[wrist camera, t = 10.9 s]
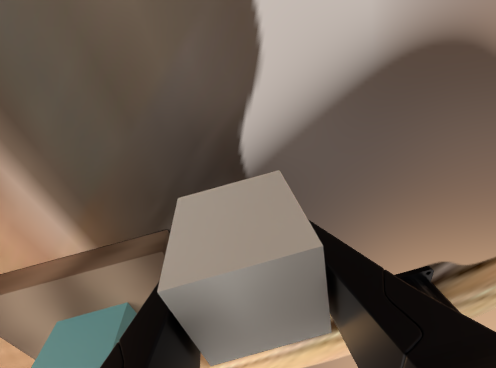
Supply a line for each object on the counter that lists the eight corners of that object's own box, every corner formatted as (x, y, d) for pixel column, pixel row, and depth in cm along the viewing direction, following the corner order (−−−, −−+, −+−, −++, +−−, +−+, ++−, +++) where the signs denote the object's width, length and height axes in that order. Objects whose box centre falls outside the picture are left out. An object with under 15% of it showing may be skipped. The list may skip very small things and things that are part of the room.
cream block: (279, 170, 9) (323, 245, 5) (293, 243, 11) (331, 332, 7) (177, 198, 9) (157, 291, 5) (210, 266, 11) (210, 366, 7)
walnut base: (167, 229, 16) (162, 251, 14) (217, 322, 22) (218, 345, 20) (-18, 279, 16) (-46, 307, 14) (84, 358, 22) (73, 384, 20)
